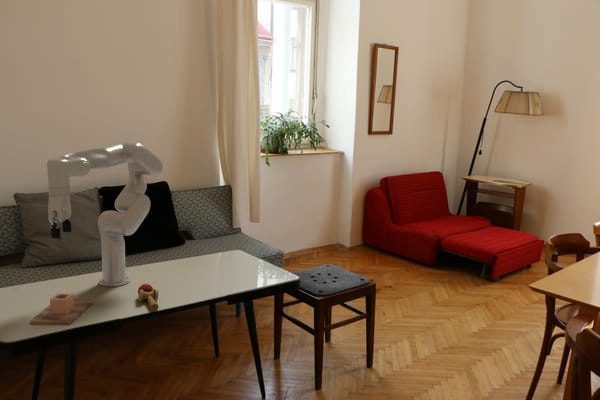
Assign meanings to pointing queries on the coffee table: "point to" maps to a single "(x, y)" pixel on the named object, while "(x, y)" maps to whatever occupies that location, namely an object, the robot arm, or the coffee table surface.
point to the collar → (61, 304)
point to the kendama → (148, 295)
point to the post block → (66, 319)
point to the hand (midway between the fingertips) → (61, 234)
